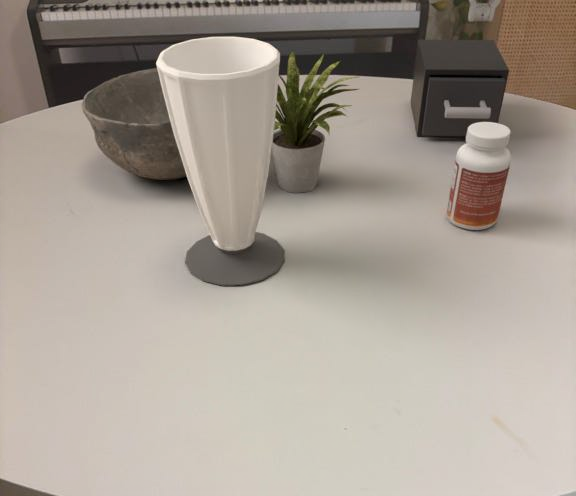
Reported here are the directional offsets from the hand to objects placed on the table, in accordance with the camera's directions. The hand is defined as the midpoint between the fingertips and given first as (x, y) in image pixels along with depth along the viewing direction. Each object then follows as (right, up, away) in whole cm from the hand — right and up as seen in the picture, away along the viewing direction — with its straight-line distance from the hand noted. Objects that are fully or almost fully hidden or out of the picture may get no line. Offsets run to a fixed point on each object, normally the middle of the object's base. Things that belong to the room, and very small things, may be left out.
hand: (479, 20), depth 82 cm
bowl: (-41, -16, +8) cm, 45 cm away
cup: (-31, -32, -9) cm, 45 cm away
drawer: (+1, -7, +15) cm, 17 cm away
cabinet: (+1, -5, +19) cm, 19 cm away
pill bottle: (-2, -26, -3) cm, 27 cm away
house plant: (-24, -21, +3) cm, 32 cm away
